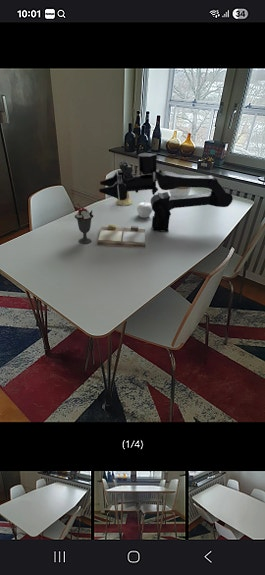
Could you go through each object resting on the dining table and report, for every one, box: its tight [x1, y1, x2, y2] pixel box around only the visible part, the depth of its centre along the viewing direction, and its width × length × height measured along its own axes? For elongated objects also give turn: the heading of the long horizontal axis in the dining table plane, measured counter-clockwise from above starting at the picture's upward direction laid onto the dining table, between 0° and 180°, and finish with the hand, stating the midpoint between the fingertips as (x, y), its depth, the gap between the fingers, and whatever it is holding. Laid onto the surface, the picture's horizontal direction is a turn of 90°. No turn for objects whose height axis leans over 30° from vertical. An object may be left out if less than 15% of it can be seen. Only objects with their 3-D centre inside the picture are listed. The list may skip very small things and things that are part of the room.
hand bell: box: [115, 192, 133, 207], centre depth 152 cm, size 8×8×16 cm
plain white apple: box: [136, 199, 153, 219], centre depth 141 cm, size 7×7×8 cm
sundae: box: [74, 203, 94, 245], centre depth 116 cm, size 7×7×15 cm
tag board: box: [96, 224, 146, 248], centre depth 124 cm, size 18×14×2 cm
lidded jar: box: [169, 187, 191, 197], centre depth 163 cm, size 11×11×9 cm
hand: (99, 186), depth 122 cm, fingers open, 9 cm apart
